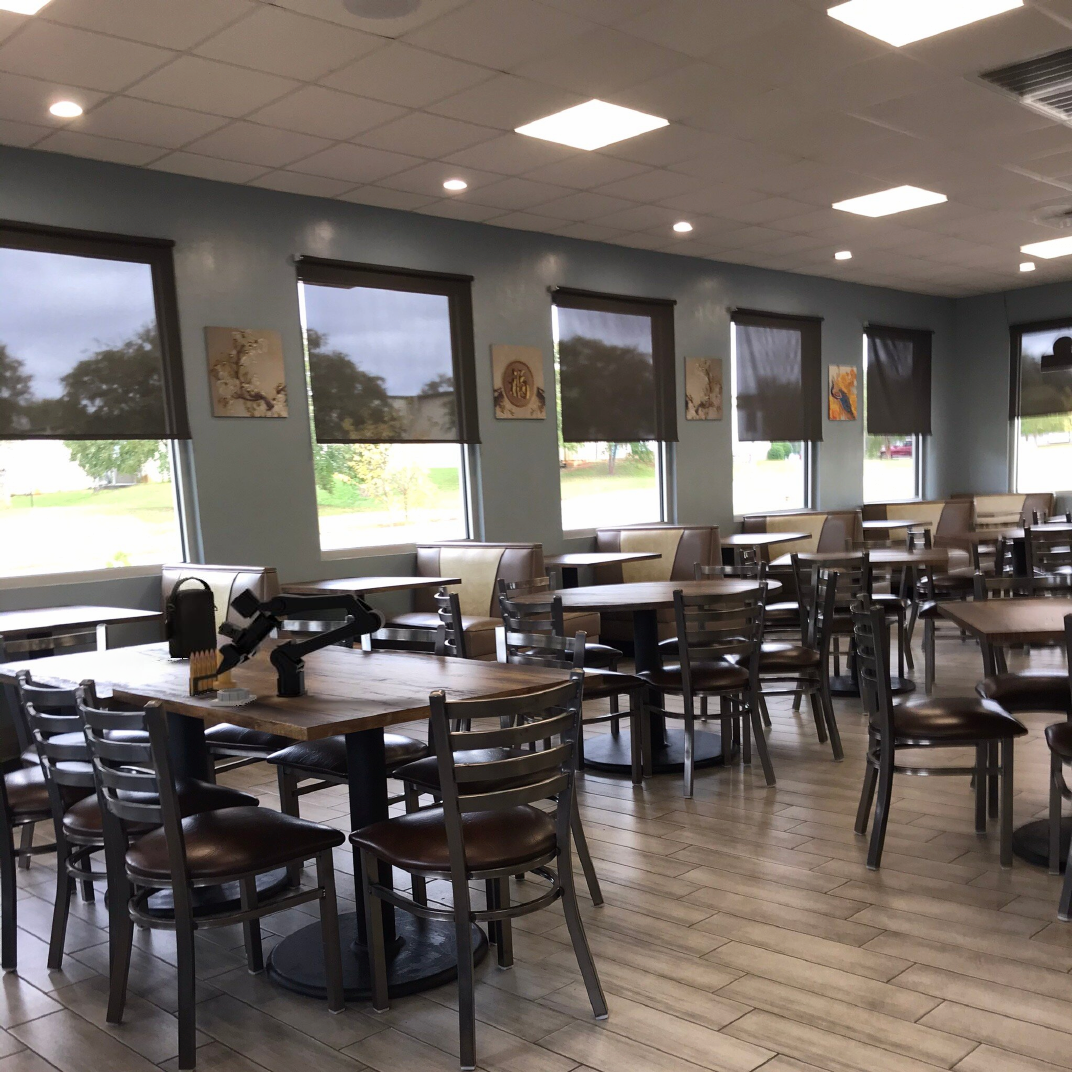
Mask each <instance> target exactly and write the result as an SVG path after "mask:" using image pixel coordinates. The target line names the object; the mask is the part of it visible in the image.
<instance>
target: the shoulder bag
mask: <svg viewBox="0 0 1072 1072" xmlns="http://www.w3.org/2000/svg"><path fill="white" fill-rule="evenodd" d="M189 580H196V581H198V582H199V583H200V584H201V585H203V588H185V589H180V590H179V588H180V587H181V585H184V583H185V582H187V581H189ZM218 611H219V610H218V607H217V605H216V603H215V594H214V592H213V590H212V589H211V586H210V585H209V583H208V582H207V581H205V580H204V579H201V578H200V577H199V578H198V577H194V576H190V577H184V578H181V579H179V580H177V581H176V582H175V583H174V585H173V586H172V589H171V593H168V595H166V596H165V622H164V638H165V641H168V653H169V655H170V658H182V659H183V658H190V657H191V653H192V652H193V654H194V657H195V656H196V652H198V653H199V658H200V654H201V651H203V653H204V657H205V653H206V650H208V653H209V656H210V651H211V649H213V652H214V654H215V650H216V648H217V649H218V638H217V627H216V625H217V624H216V612H218ZM160 660H161V659H157V661H159V662H161V661H160Z"/></svg>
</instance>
